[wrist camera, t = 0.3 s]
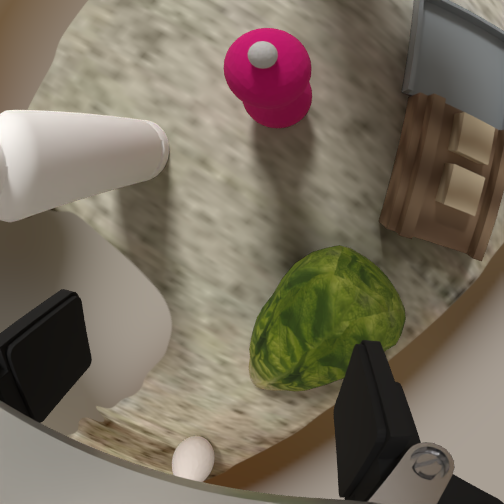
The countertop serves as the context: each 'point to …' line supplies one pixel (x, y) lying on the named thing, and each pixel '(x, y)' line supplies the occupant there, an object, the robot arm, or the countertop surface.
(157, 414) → the countertop surface
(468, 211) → the chip
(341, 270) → the lettuce
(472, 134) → the chip
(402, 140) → the brown wooden box
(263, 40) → the pepper mill
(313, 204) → the countertop surface
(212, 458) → the egg
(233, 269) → the countertop surface
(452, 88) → the tray
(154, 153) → the bottle
